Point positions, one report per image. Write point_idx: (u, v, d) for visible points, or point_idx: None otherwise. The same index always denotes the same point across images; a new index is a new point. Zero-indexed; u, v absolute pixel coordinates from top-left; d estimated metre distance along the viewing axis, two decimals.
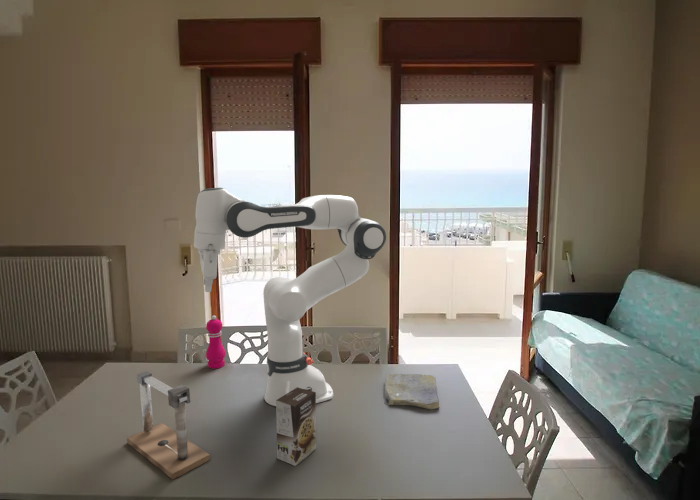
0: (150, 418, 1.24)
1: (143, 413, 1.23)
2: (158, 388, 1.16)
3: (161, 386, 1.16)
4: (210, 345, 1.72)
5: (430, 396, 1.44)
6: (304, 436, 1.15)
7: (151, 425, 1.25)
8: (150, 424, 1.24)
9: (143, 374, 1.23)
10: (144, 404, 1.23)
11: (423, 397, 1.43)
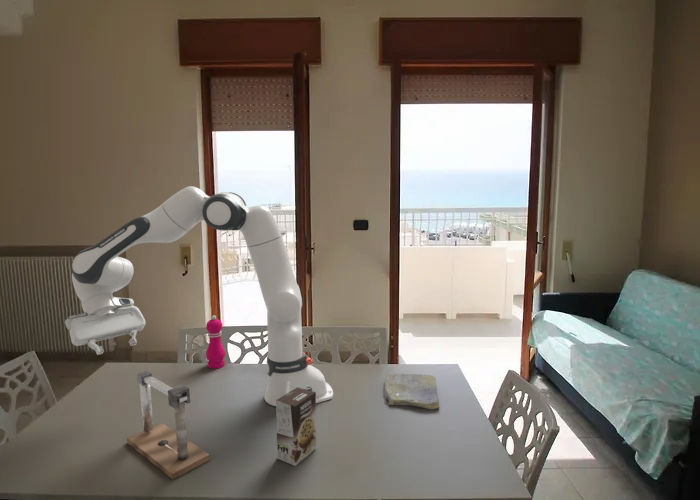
0: (150, 418, 1.24)
1: (143, 413, 1.23)
2: (158, 388, 1.16)
3: (161, 386, 1.16)
4: (210, 345, 1.72)
5: (430, 396, 1.44)
6: (304, 436, 1.15)
7: (151, 425, 1.25)
8: (150, 424, 1.24)
9: (143, 374, 1.23)
10: (144, 404, 1.23)
11: (423, 397, 1.43)
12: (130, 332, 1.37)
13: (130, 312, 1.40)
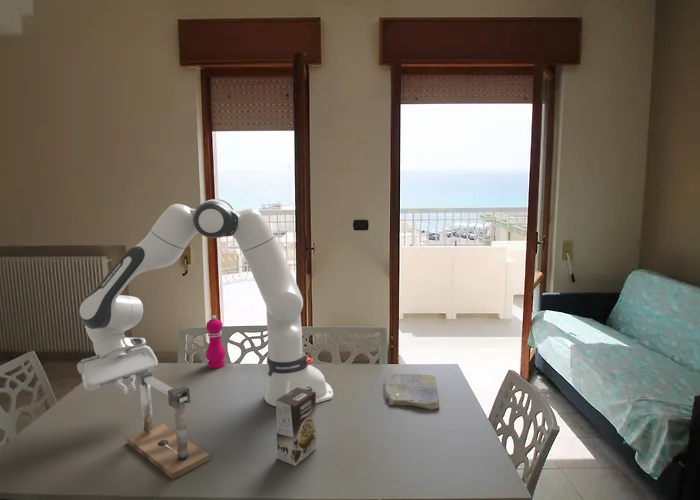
0: (150, 418, 1.24)
1: (143, 413, 1.23)
2: (158, 388, 1.16)
3: (161, 386, 1.16)
4: (210, 345, 1.72)
5: (430, 396, 1.44)
6: (304, 436, 1.15)
7: (151, 425, 1.25)
8: (150, 424, 1.24)
9: (143, 374, 1.23)
10: (144, 404, 1.23)
11: (423, 397, 1.43)
12: (129, 377, 1.32)
13: (142, 352, 1.38)
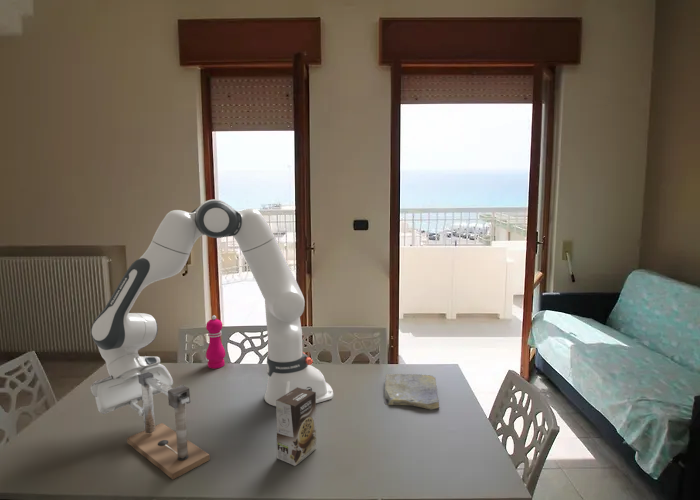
0: (152, 419, 1.24)
1: (145, 414, 1.23)
2: (160, 389, 1.15)
3: (163, 387, 1.16)
4: (210, 345, 1.72)
5: (430, 396, 1.44)
6: (304, 436, 1.15)
7: (153, 426, 1.24)
8: (152, 425, 1.24)
9: (144, 375, 1.22)
10: (146, 405, 1.22)
11: (423, 397, 1.43)
12: None
13: (157, 372, 1.33)
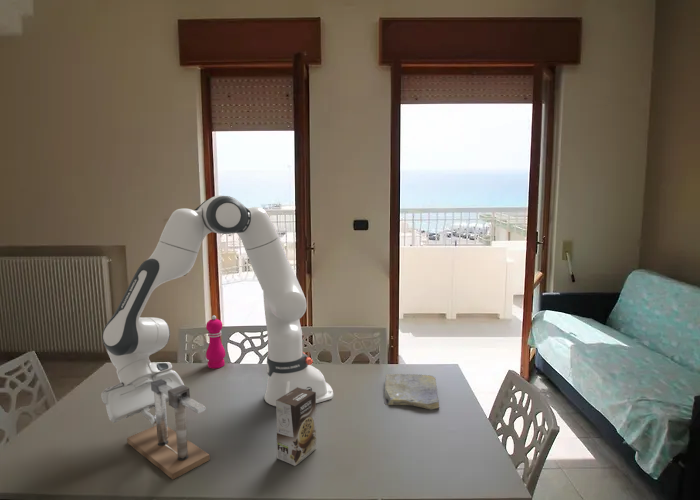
0: (165, 428, 1.19)
1: (158, 423, 1.18)
2: None
3: (177, 395, 1.11)
4: (210, 345, 1.72)
5: (430, 396, 1.44)
6: (304, 436, 1.15)
7: (166, 435, 1.20)
8: (165, 434, 1.19)
9: (157, 382, 1.17)
10: (159, 413, 1.18)
11: (423, 397, 1.43)
12: None
13: (169, 378, 1.29)
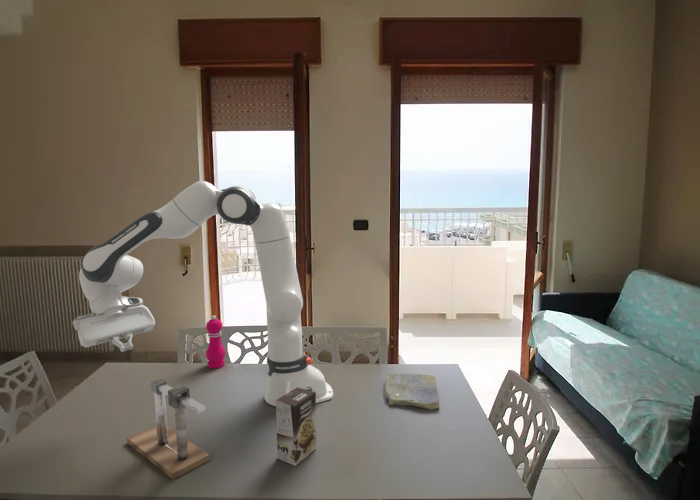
0: (165, 428, 1.19)
1: (158, 423, 1.18)
2: None
3: (177, 395, 1.11)
4: (210, 345, 1.72)
5: (430, 396, 1.44)
6: (304, 436, 1.15)
7: (166, 435, 1.20)
8: (165, 434, 1.19)
9: (157, 382, 1.17)
10: (159, 413, 1.18)
11: (423, 397, 1.43)
12: (126, 336, 1.30)
13: (139, 312, 1.36)
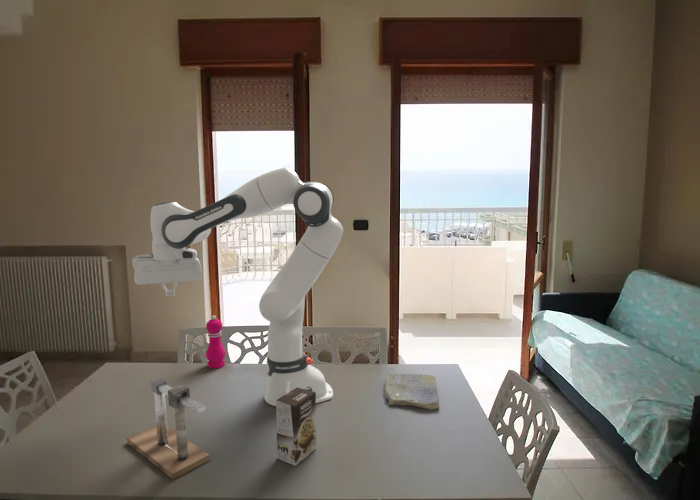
0: (165, 428, 1.19)
1: (158, 423, 1.18)
2: None
3: (177, 395, 1.11)
4: (210, 345, 1.72)
5: (430, 396, 1.44)
6: (304, 436, 1.15)
7: (166, 435, 1.20)
8: (165, 434, 1.19)
9: (157, 382, 1.17)
10: (159, 413, 1.18)
11: (423, 397, 1.43)
12: (173, 282, 1.45)
13: (191, 264, 1.45)
